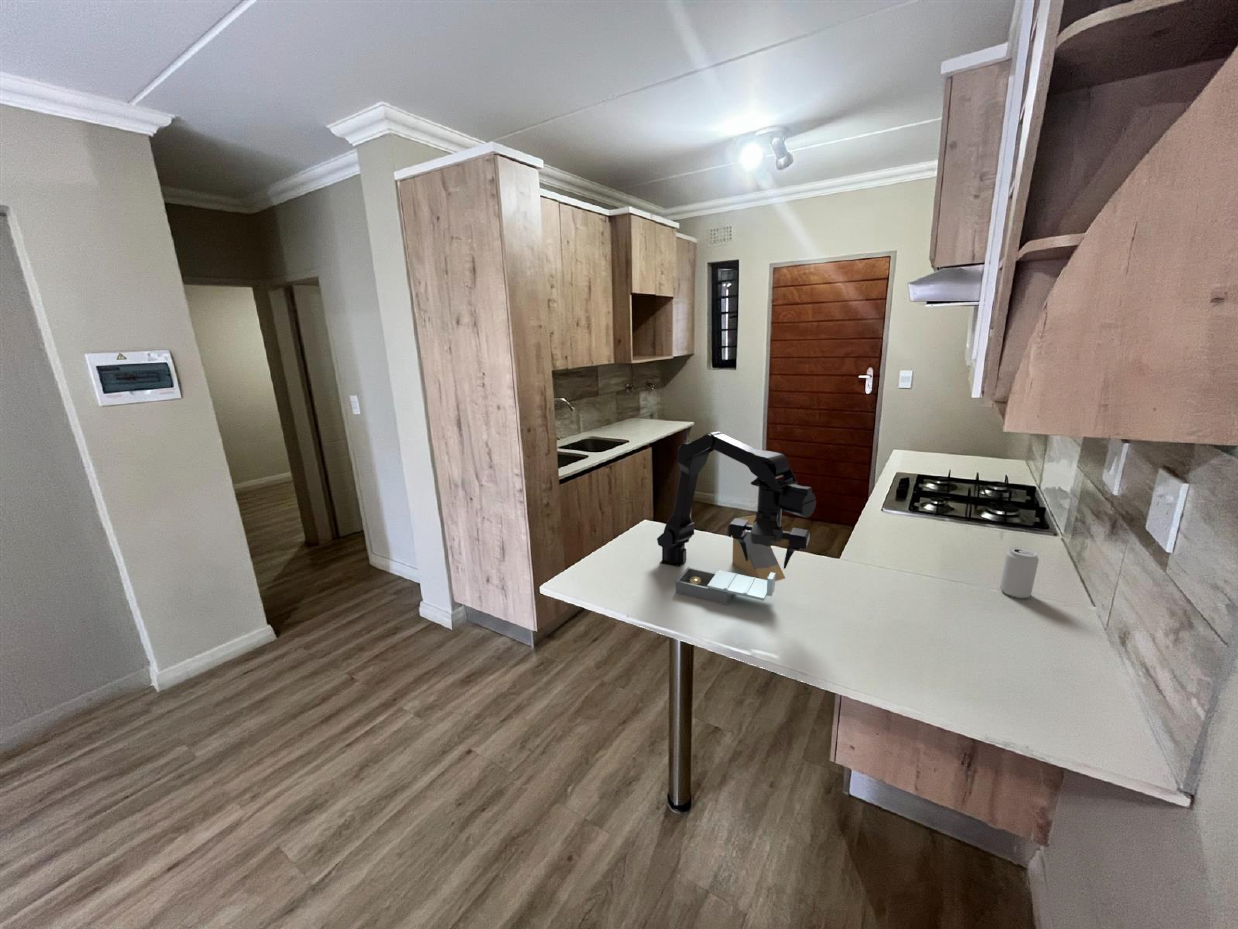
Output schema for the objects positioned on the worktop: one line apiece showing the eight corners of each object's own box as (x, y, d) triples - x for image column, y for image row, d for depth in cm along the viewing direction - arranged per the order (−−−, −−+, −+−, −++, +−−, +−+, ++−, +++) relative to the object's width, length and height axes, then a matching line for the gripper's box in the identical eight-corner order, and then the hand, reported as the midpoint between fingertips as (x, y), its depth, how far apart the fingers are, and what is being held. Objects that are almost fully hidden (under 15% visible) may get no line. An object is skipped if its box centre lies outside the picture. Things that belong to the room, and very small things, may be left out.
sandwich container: (762, 587, 132) (765, 537, 129) (731, 564, 146) (732, 518, 142) (788, 581, 135) (791, 532, 132) (754, 559, 149) (757, 514, 145)
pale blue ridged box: (707, 587, 124) (707, 571, 123) (718, 572, 132) (718, 556, 131) (768, 602, 117) (769, 584, 116) (776, 584, 125) (777, 568, 124)
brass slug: (687, 590, 131) (688, 580, 130) (691, 585, 133) (692, 575, 132) (698, 593, 129) (698, 582, 128) (702, 588, 132) (702, 578, 131)
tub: (675, 594, 130) (675, 581, 129) (687, 580, 137) (688, 567, 136) (726, 607, 123) (727, 593, 122) (736, 591, 131) (737, 577, 130)
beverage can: (1001, 584, 130) (1009, 544, 127) (1032, 593, 126) (1041, 551, 123) (997, 593, 126) (1005, 551, 123) (1028, 602, 121) (1038, 559, 118)
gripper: (722, 510, 114) (719, 570, 118) (805, 523, 105) (799, 587, 109) (735, 496, 123) (732, 552, 127) (812, 507, 115) (807, 567, 119)
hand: (765, 564), depth 120 cm, fingers open, 9 cm apart
